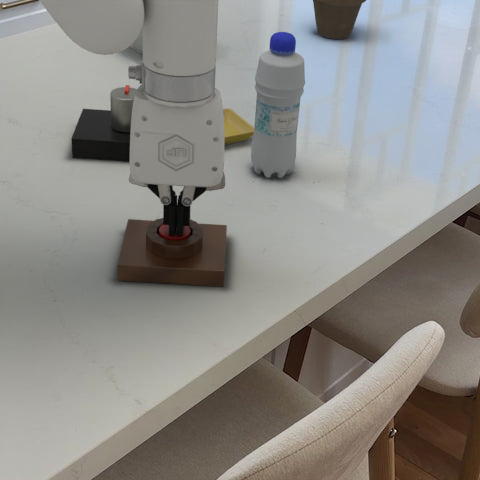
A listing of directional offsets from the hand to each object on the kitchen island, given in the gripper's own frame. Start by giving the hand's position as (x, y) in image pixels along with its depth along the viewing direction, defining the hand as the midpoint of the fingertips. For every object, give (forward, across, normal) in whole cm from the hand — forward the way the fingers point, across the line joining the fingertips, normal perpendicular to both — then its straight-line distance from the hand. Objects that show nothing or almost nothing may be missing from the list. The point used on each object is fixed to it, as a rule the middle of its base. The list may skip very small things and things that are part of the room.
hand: (176, 229), depth 103 cm
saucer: (+4, +4, +34) cm, 35 cm away
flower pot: (+5, +25, +83) cm, 87 cm away
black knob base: (+4, -9, +29) cm, 31 cm away
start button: (+2, 0, 0) cm, 2 cm away
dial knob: (+1, -9, +29) cm, 30 cm away
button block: (+4, 0, 0) cm, 4 cm away
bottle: (+4, +12, +24) cm, 27 cm away
